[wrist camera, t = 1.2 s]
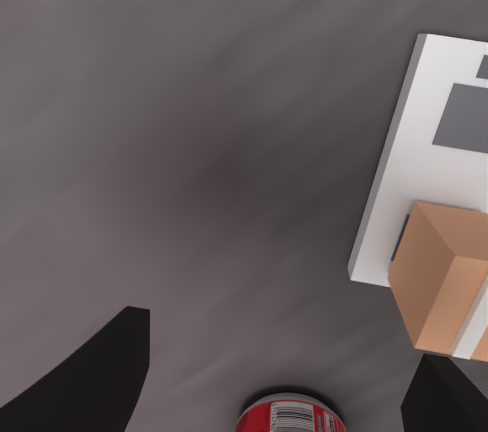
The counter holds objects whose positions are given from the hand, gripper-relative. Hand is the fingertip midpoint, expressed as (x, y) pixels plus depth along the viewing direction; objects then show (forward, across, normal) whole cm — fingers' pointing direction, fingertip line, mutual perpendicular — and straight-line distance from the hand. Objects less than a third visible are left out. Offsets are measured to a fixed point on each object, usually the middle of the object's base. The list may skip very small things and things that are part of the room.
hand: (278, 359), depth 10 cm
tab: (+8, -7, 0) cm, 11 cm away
